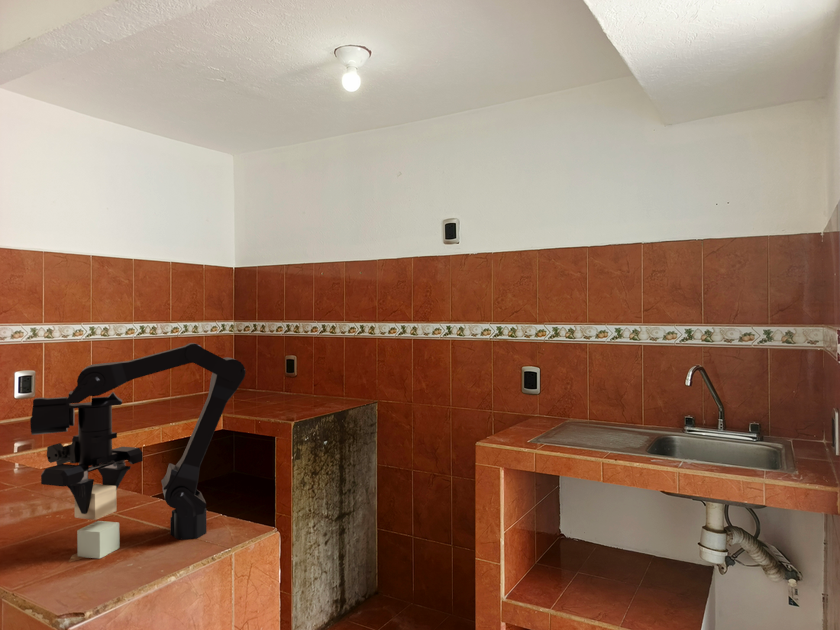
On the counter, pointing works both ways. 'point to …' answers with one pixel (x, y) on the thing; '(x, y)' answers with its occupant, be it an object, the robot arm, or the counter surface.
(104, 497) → the maple block
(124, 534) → the counter surface
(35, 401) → the robot arm
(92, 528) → the sage block
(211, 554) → the counter surface
